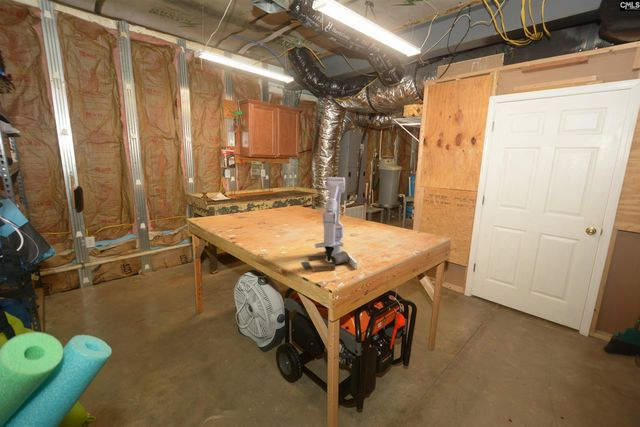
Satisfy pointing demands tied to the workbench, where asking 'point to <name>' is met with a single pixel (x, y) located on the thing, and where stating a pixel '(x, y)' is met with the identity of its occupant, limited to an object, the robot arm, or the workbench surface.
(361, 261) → the workbench surface
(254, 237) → the workbench surface
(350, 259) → the cream plank
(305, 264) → the strip
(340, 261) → the pipe
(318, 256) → the brown wooden board
